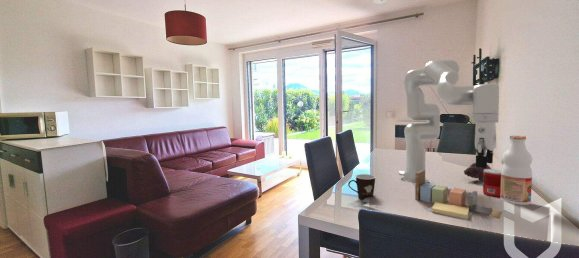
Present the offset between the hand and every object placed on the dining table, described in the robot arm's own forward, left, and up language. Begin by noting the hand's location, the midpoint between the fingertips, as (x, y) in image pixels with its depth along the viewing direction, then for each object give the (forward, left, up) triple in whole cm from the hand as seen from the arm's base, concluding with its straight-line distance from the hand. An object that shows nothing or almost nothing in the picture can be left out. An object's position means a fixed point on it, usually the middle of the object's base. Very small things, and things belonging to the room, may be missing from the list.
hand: (484, 164), depth 95 cm
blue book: (-19, 0, -18) cm, 26 cm away
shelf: (-9, 0, -19) cm, 21 cm away
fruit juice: (+7, +21, -19) cm, 30 cm away
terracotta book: (-8, 0, -18) cm, 19 cm away
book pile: (-9, -8, -19) cm, 23 cm away
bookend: (-1, 0, -17) cm, 18 cm away
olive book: (-15, 0, -18) cm, 23 cm away
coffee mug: (-43, -13, -19) cm, 49 cm away
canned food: (-1, +29, -19) cm, 35 cm away
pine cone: (-10, +51, -19) cm, 56 cm away
